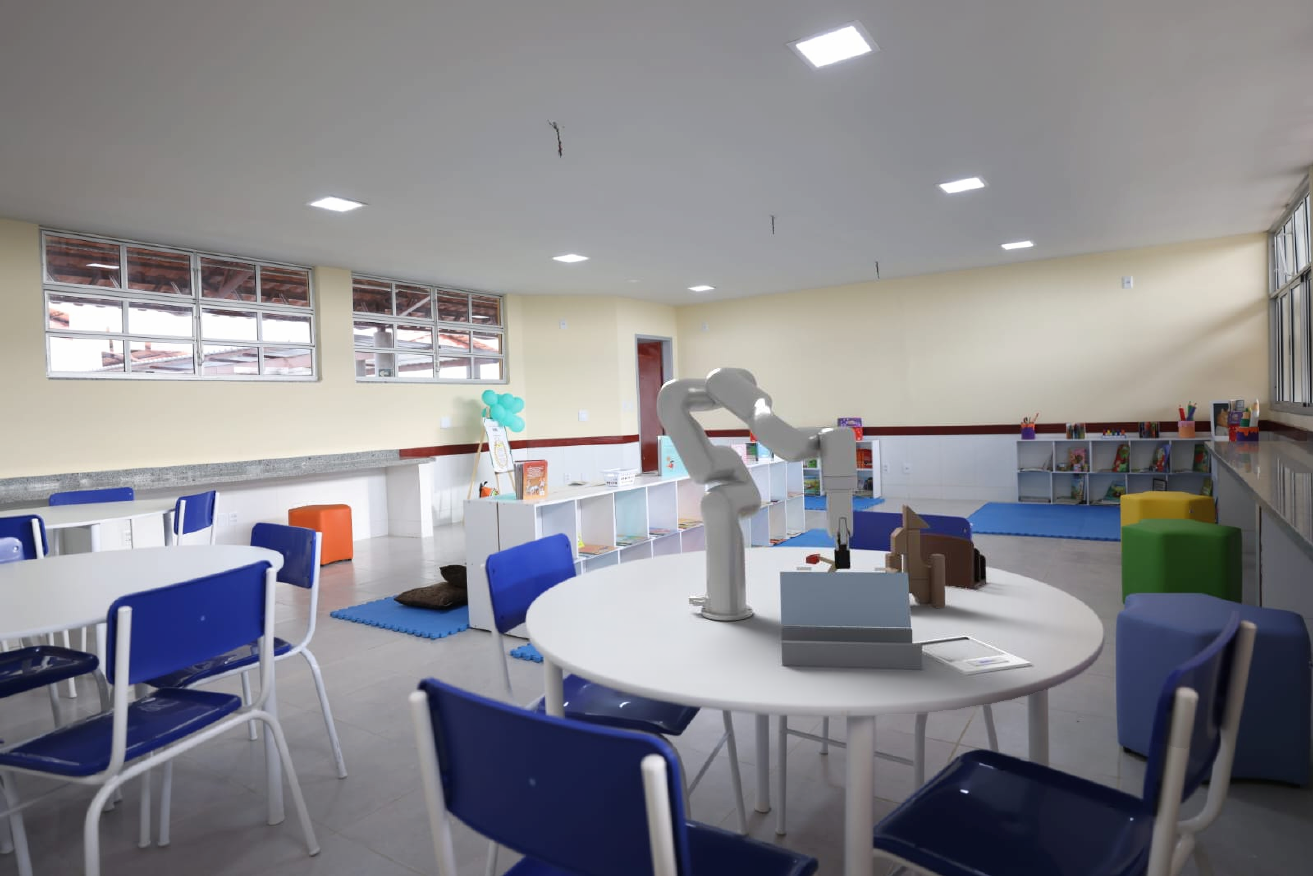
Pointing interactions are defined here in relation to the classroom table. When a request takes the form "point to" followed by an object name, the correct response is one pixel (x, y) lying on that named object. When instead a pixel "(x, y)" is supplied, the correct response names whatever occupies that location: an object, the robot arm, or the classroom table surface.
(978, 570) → the letter holder
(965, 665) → the photo frame
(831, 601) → the duct cover
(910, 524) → the wooden toy
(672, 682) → the classroom table surface
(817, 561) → the toy fire truck
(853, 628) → the cable duct
